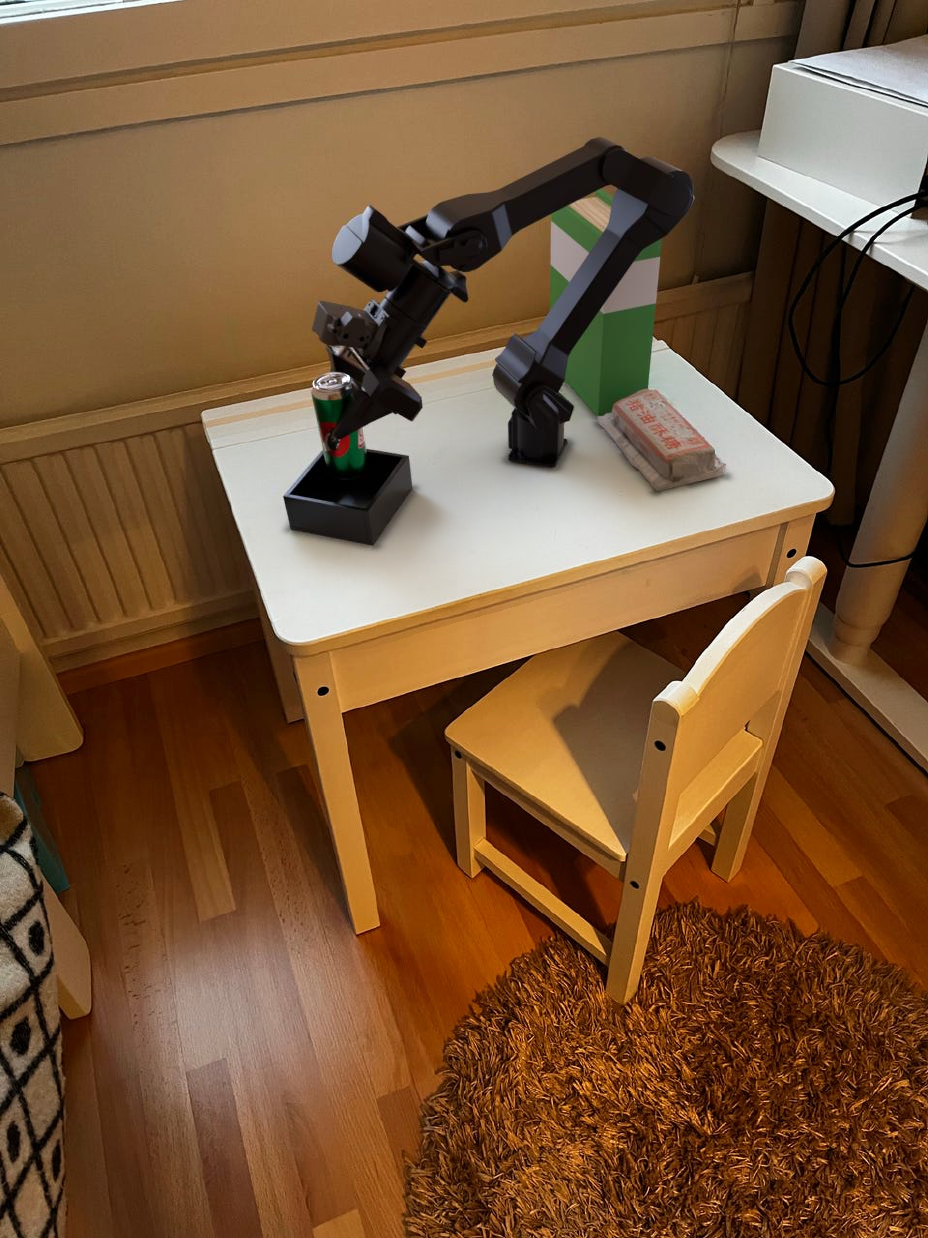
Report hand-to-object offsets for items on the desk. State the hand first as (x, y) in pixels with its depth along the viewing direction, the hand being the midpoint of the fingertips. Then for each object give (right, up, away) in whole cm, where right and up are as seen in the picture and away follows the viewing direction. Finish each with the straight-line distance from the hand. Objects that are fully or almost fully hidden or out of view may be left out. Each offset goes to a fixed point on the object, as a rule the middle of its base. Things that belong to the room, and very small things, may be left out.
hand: (328, 426), depth 106 cm
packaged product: (+41, 0, +15) cm, 44 cm away
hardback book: (+35, +12, +28) cm, 47 cm away
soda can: (+2, -4, +5) cm, 7 cm away
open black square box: (+2, -9, +9) cm, 12 cm away
